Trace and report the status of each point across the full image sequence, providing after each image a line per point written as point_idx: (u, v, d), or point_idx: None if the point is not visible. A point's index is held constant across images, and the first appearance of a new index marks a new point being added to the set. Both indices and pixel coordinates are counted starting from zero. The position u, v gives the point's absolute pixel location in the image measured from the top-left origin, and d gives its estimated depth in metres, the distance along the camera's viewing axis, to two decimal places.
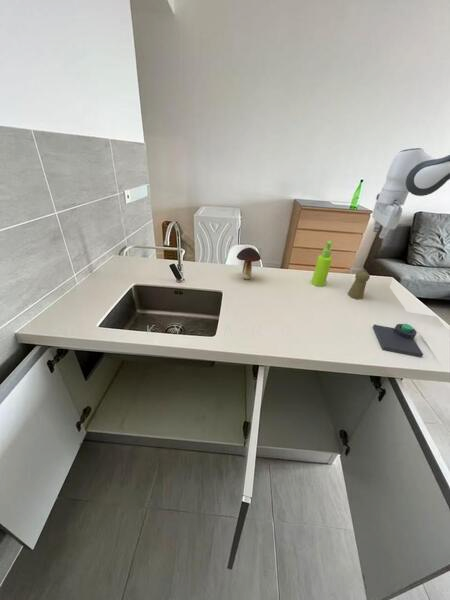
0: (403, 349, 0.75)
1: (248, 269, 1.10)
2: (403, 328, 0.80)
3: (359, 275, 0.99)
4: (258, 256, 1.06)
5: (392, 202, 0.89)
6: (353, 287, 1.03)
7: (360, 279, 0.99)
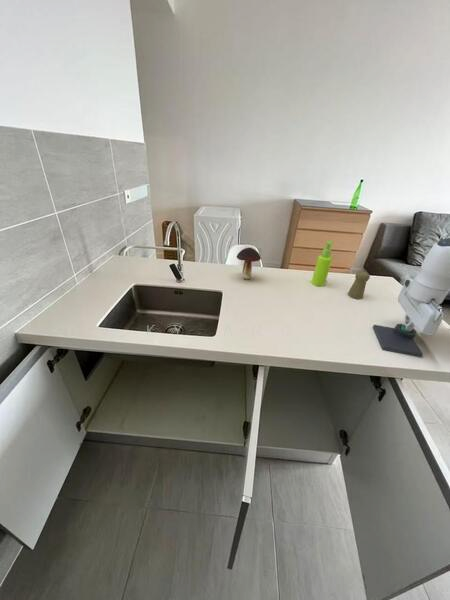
0: (403, 349, 0.75)
1: (248, 269, 1.10)
2: None
3: (359, 275, 0.99)
4: (258, 256, 1.06)
5: (429, 301, 0.71)
6: (353, 287, 1.03)
7: (360, 279, 0.99)
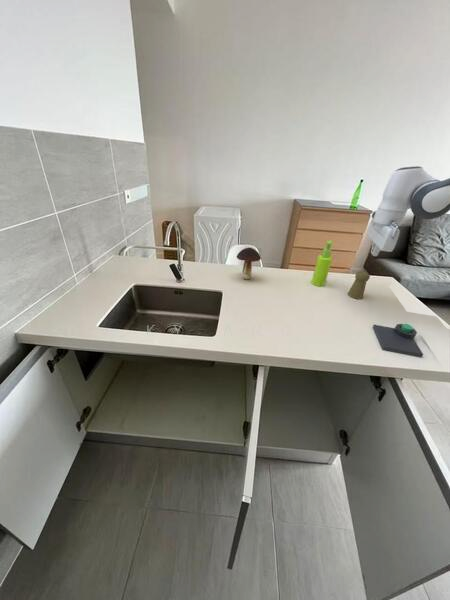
0: (403, 349, 0.75)
1: (248, 269, 1.10)
2: (403, 328, 0.80)
3: (359, 275, 0.99)
4: (258, 256, 1.06)
5: (389, 222, 0.83)
6: (353, 287, 1.03)
7: (360, 279, 0.99)
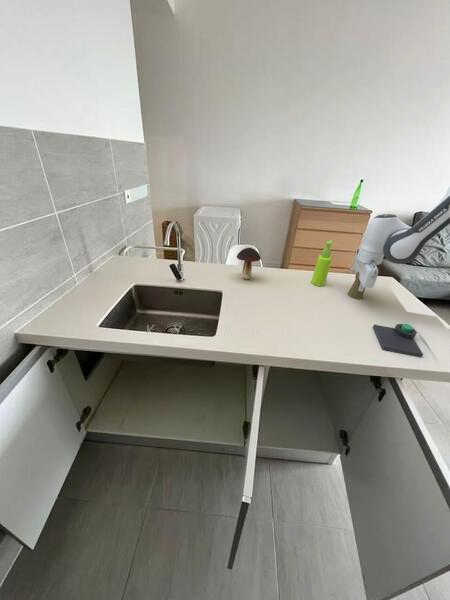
0: (403, 349, 0.75)
1: (248, 269, 1.10)
2: (403, 328, 0.80)
3: None
4: (258, 256, 1.06)
5: (369, 262, 0.93)
6: (353, 287, 1.03)
7: None
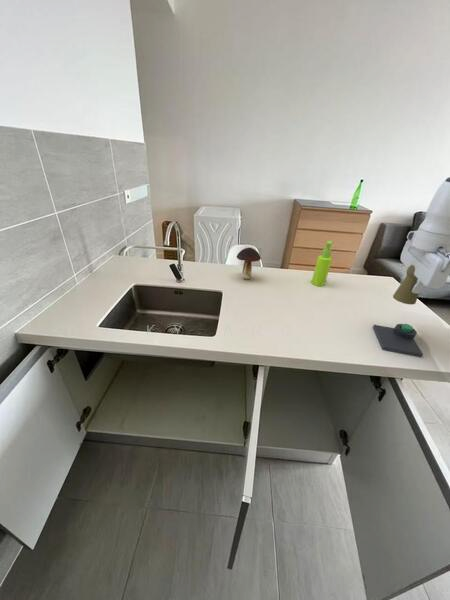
0: (403, 349, 0.75)
1: (248, 269, 1.10)
2: (403, 328, 0.80)
3: (414, 270, 0.68)
4: (258, 256, 1.06)
5: (436, 249, 0.62)
6: (403, 287, 0.71)
7: None
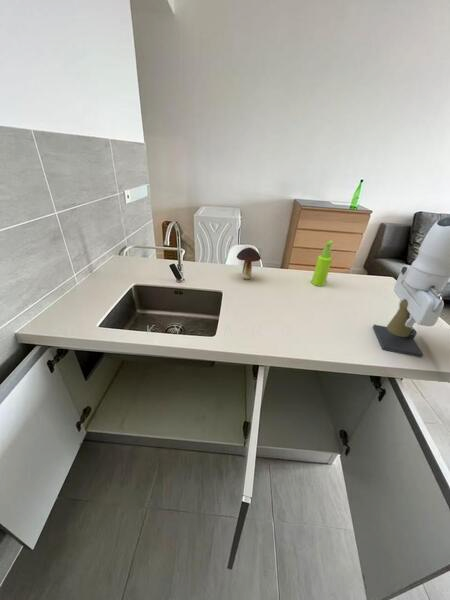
0: (403, 349, 0.75)
1: (248, 269, 1.10)
2: None
3: (407, 305, 0.69)
4: (258, 256, 1.06)
5: (427, 288, 0.63)
6: (396, 320, 0.73)
7: None
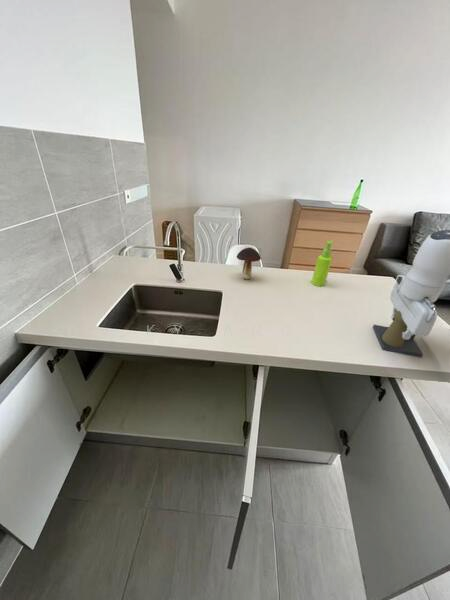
0: (403, 349, 0.75)
1: (248, 269, 1.10)
2: None
3: (401, 317, 0.72)
4: (258, 256, 1.06)
5: (421, 299, 0.65)
6: (391, 331, 0.75)
7: (403, 322, 0.72)
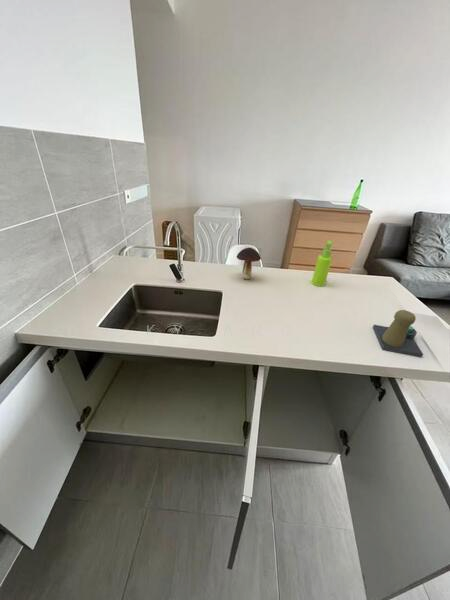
0: (403, 349, 0.75)
1: (248, 269, 1.10)
2: None
3: (401, 317, 0.72)
4: (258, 256, 1.06)
5: None
6: (391, 331, 0.75)
7: (403, 322, 0.72)
